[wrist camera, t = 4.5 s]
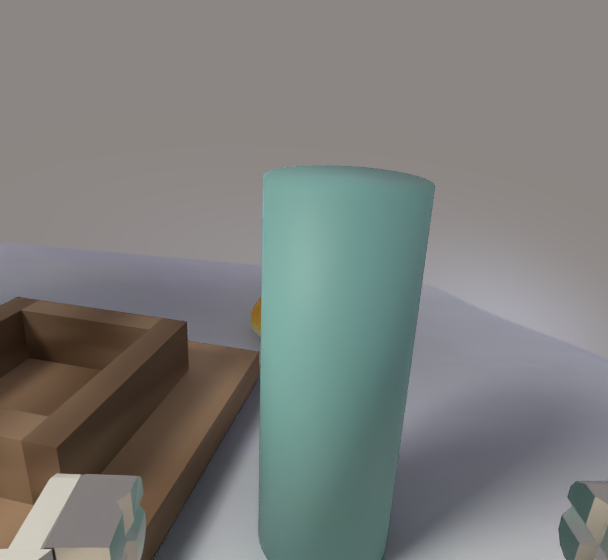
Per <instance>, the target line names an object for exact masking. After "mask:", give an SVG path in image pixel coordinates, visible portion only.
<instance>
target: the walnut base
mask: <svg viewBox="0 0 608 560" xmlns="http://www.w3.org/2000/svg"><path fill="white" fill-rule="evenodd" d="M258 378H259V352H257V351H251V350H244V349H238V348H231V347H225V346H218V345H212V344H205V343H199V342H192V341H188V338H187V322H185V321H179V320H172V319H165V318H158V317H151V316H144V315H137V314H131V313H124V312H117V311H110V310H103V309H96V308H89V307H83V306H76V305H69V304H62V303H55V302H48V301H41V300H35V299H28V298H21V297H17V298H15V299H13V300H11V301H9V302H7V303H5V304H3V305H1V306H0V549H8V548H9V546H10V544H11V543H12V541H13V539H14V538H15V536H16V534H17V533H18V531H19V529H20V528H21V526H22V524H23V523H24V521H25V519H26V518H27V516H28V514H29V512H30V511H31V509H32V507H33V506H34V504H35V502H36V501H37V499H38V497H39V496H40V494H41V492H42V491H43V489H44V487H45V486H46V484H47V482H48V481H49V479H50V478H51V477H53V476H54V475H55V474H57V473H59V474H81V475H84V474H101V475H128V476H139V477H141V478H142V485H143V495H142V498H141V501H140V504H139V506H140V507H141V508H142V509H143V510H144V511H145V517H146V533H145V541H144V547H143V553H142V556H141V560H152V558H153V557H154V555H155V553H156V552H157V550H158V548H159V546H160V545H161V543H162V541H163V540H164V538H165V536H166V535H167V533H168V531H169V529H170V528H171V526H172V524H173V523H174V521H175V519H176V517H177V516H178V514H179V512H180V511H181V509H182V507H183V506H184V504H185V502H186V500H187V499H188V497H189V495H190V494H191V492H192V490H193V489H194V487H195V485H196V483H197V482H198V480H199V478H200V477H201V475H202V473H203V471H204V470H205V468H206V466H207V465H208V463H209V461H210V460H211V458H212V456H213V454H214V453H215V451H216V449H217V448H218V446H219V444H220V443H221V441H222V439H223V437H224V436H225V434H226V432H227V431H228V429H229V427H230V425H231V424H232V422H233V420H234V419H235V417H236V415H237V414H238V412H239V410H240V408H241V407H242V405H243V403H244V402H245V400H246V398H247V397H248V395H249V393H250V391H251V390H252V388H253V386H254V385H255V383H256V381H257V379H258Z"/></svg>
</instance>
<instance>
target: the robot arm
mask: <svg viewBox="0 0 608 560" xmlns="http://www.w3.org/2000/svg"><path fill="white" fill-rule="evenodd" d="M142 495H143V485H142V478H141V477H139V476H128V475H101V474H84V475H81V474H59V473H57V474H55V475H54V476H53V477H51V478H50V479H49V481H48V482H47V484H46V486H45V487H44V489H43V491H42V492H41V494H40V496H39V497H38V499H37V501H36V502H35V504H34V506H33V507H32V509H31V511H30V512H29V514H28V516H27V518H26V519H25V521H24V523H23V524H22V526H21V528H20V529H19V531H18V533H17V534H16V536H15V538H14V539H13V541H12V543H11V544H10V546H9V548H8V549H0V560H141V556H142V553H143V547H144V541H145V533H146V517H145V511H144V510H143V509H142V508H141V507H140V506H139V504H140V501H141V498H142ZM568 499H569V501H570V502H571V504H572V507H571V508H570V509H569V510H567V511H566V512H565V513H564V514H563V515H562V517H561V521H560V525H559V539H560V546H561V548H562V551H563V554H564V557H565V559H566V560H608V481H576V482H575V483H574V484H573V485H572V486H571V487H570V491H569V494H568Z"/></svg>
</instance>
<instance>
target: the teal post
mask: <svg viewBox="0 0 608 560" xmlns="http://www.w3.org/2000/svg"><path fill="white" fill-rule="evenodd" d="M434 191H435V185H434V183H432V182H431V181H429V180H427V179H425V178H422V177H419V176H415V175H411V174H407V173H401V172H396V171H390V170H383V169H375V168H365V167H352V166H296V167H287V168H280V169H275V170H272V171H269V172H266V173H265V174H264V175H263V209H262V210H263V211H262V212H263V214H262V287H261V364H260V442H259V519H258V534H259V541H260V545H261V547H262V550H263V552H264V554H265V556H266V557H267V559H268V560H382V558H383V556H384V553H385V550H386V544H387V538H388V530H389V523H390V515H391V508H392V501H393V493H394V486H395V479H396V471H397V464H398V457H399V449H400V442H401V434H402V427H403V420H404V412H405V405H406V398H407V390H408V383H409V376H410V368H411V361H412V353H413V346H414V339H415V331H416V324H417V317H418V309H419V302H420V295H421V287H422V280H423V272H424V265H425V258H426V250H427V242H428V236H429V228H430V220H431V212H432V206H433V199H434Z"/></svg>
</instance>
